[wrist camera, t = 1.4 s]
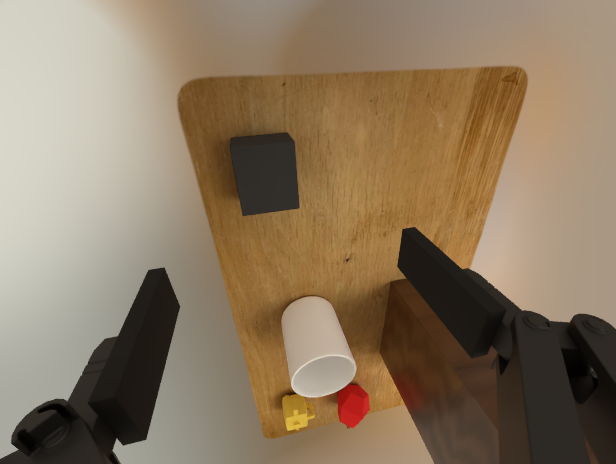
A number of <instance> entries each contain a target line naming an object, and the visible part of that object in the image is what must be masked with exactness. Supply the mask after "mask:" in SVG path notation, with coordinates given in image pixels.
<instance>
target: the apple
mask: <svg viewBox="0 0 616 464" xmlns="http://www.w3.org/2000/svg"><path fill="white" fill-rule="evenodd" d="M337 396H338V415H339V419H340V422H342V423H344V424H346V425H347V428H350V427H351V428H354V427H355V426H356V425H357V424H358V423H359V422H360V421H361V420H362V419H363V418H364V416H365V415H366V414H367V412H368V411H369V410H370V408H369V396H368V393H366V392H365V391H364V390H363V389H362V388H361V387H360V386H359V385H349V384H348V385H347V386H346V387H345V388H343V389H342V390H341V391H340V392H339V393H338V394H337Z"/></svg>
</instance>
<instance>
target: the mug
mask: <svg viewBox="0 0 616 464" xmlns="http://www.w3.org/2000/svg"><path fill="white" fill-rule="evenodd" d="M281 325H282V332H283V339H284V345H285V351H286V357H287V363H288V369H289V375H290V381H291V386H292V389H293V390H294V391H295V392H296V393H297V394H299V395H301V396H305V397H321V396H326V395H329V394H332V393H335V392H337V391H339V390H340V389H342V388H344V387H345V386H346V385H347V384H348V383H350V381H351V380H352V379H353V377H354V376H355V373H356V364H355V361H354V359H353V356H352V354H351V351H350V349H349V346H348V344H347V341H346V338H345V336H344V333H343V331H342V328H341V326H340V323H339V321H338V318H337V316H336V313H335V311H334V309H333V307H332V305H331V304H330V303H329V302H328V301H327V300H325V299H323V298H321V297H316V296H309V297H304V298H300V299H298V300H296V301H294V302H293V303H291V304H290V305H289V306H288V307H287V308H286V309H285V311H284V313H283V315H282V319H281Z"/></svg>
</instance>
